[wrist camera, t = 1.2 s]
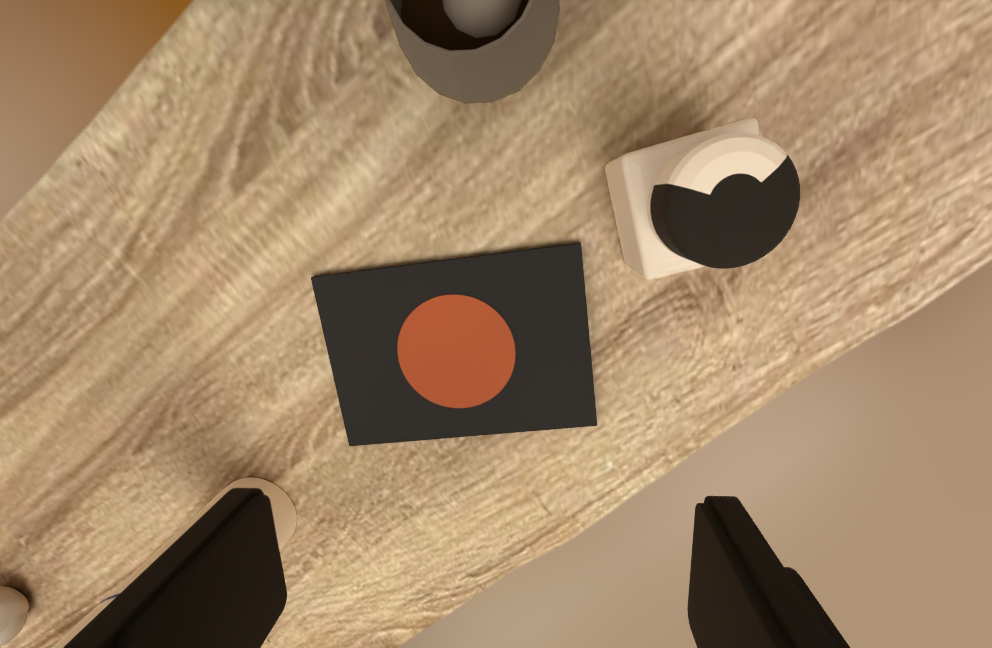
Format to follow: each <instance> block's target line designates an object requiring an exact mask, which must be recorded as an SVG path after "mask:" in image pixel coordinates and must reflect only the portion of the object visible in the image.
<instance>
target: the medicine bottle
mask: <svg viewBox="0 0 992 648" xmlns="http://www.w3.org/2000/svg"><path fill="white" fill-rule="evenodd" d="M605 173H606V178H607V182H608V187H609V192H610V197H611V201H612V206H613V211H614V215H615V220H616V225H617V229H618V234H619V239H620V243H621V248H622V253H623V257H624V262H625V264H627V265H628V266H630V267H631V268H632V269H634V270H635V271H637V272H638V273H639V274H641V275H642V276H644V277H645V278H647V279H648V280H652V279H656V278H660V277H664V276H668V275H672V274H676V273H680V272H684V271H688V270H692V269H696V268H700V267H704V266H707V267H712V268H735V267H740V266H743V265H747V264H749V263H752V262H754V261H756V260H758V259H760V258H762V257H763V256H765V255H766V254H768V253H769V252H770V251H772V250H773V249H774V248H775V247H776V246H777V245H778V244H779V243H780V242H781V241H782V239H783V238H784V237H785V236H786V234H787V233H788V231H789V230H790V228H791V226H792V224H793V222H794V220H795V217H796V214H797V211H798V207H799V201H800V184H799V178H798V175H797V171H796V169H795V167H794V164H793V162H792V161H791V159H790V158H789V156H788V155H787V154H786V153H785V152H784V150H783V149H782V148H781V147H779V146H778V145H777V144H775V143H774V142H772V141H771V140H769V139H767V138H765V137H762V136H760V134H759V127H758V122H757V120H756V119H755V118H746V119H742V120H739V121H736V122H732V123H729V124H725V125H722V126H718V127H715V128H711V129H708V130H705V131H701V132H698V133H694V134H691V135H687V136H684V137H680V138H677V139H674V140H670V141H667V142H663V143H660V144H656V145H653V146H649V147H646V148H643V149H639V150H636V151H632V152H629V153H626V154H624V155H622V156H620V157H618V158H616V159H614V160H613V161H611V162H609V163H607V164H606V165H605Z"/></svg>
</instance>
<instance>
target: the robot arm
mask: <svg viewBox="0 0 992 648" xmlns="http://www.w3.org/2000/svg"><path fill="white" fill-rule="evenodd" d="M286 600H287V590H286V584H285V579H284V573H283V568H282V562H281V557H280V551H279V546H278V540H277V535H276V529H275V524H274V518H273V513H272V507H271V502H270V498H269V497H268V496H267V495H264V493H263V491H262V490H261V489H259V488H232V489H231V490H229V491H228V492H227V493H226V494H225V495H224V496H223V497H222V498H221V499H220V500H219V501H217V502H216V503H215V504H214V505H213V506H212V507H211V508H210V509H209V510H208V511H207V512H206V513H205V514H204V515H203V516H202V517H201V518H199V519H198V520H197V521H196V522H195V523H194V524H193V525H192V526H191V527H190V528H189V529H188V530H187V531H186V532H185V533H184V534H183V535H181V536H180V537H179V538H178V539H177V540H176V541H175V542H174V543H173V544H172V545H171V546H170V547H169V548H168V549H167V550H166V551H165V552H164V553H162V554H161V555H160V556H159V557H158V558H157V559H156V560H155V561H154V562H153V563H152V564H151V565H150V566H149V567H148V568H147V569H146V570H144V571H143V572H142V573H141V574H140V575H139V576H138V577H137V578H136V579H135V580H134V581H133V582H132V583H131V584H130V585H129V586H128V587H126V588H125V589H124V590H123V591H122V592H121V593H120V594H119V595H118V596H117V597H116V598H115V599H114V600H113V601H112V602H111V603H110V604H109V605H107V606H106V607H105V608H104V609H103V610H102V611H101V612H100V613H99V614H98V615H97V616H96V617H95V618H94V619H93V620H92V621H91V622H89V623H88V624H87V625H86V626H85V627H84V628H83V629H82V630H81V631H80V632H79V633H78V634H77V635H76V636H75V637H74V638H73V639H71V640H70V641H69V642H68V643H67V644H66V645H65V646H64V648H260V647H261V645H262V644H263V642H264V641H265V639H266V637H267V636H268V634H269V633H270V631H271V629H272V628H273V626H274V624H275V623H276V621H277V620H278V618H279V616H280V615H281V613H282V611H283V609H284V607H285V604H286ZM688 618H689V624H690V628H691V631H692V633H693V636H694V639H695V642H696V645H697V648H850V647H849V645H848V644H847V643H846V641H845V640H844V638H843V637H842V635H841V634H840V633H839V631H838V630H837V628H836V627H835V625H834V624H833V622H832V621H831V619H830V618H829V617H828V615H827V614H826V612H825V611H824V609H823V608H822V607H821V605H820V604H819V602H818V601H817V599H816V598H815V597H814V595H813V594H812V592H811V591H810V589H809V588H808V586H807V585H806V583H805V582H804V581H803V579H802V578H801V577H800V575H799V574H798V573H797V572H796V571H795V570H794V569H792V568H790V567H789V568H788V567H783V565H782V564H781V562H780V561H779V559H778V558H777V556H776V555H775V553H774V552H773V550H772V549H771V547H770V546H769V544H768V543H767V541H766V540H765V538H764V537H763V535H762V534H761V532H760V531H759V529H758V528H757V526H756V525H755V523H754V522H753V520H752V519H751V517H750V516H749V514H748V513H747V511H746V510H745V508H744V507H743V505H742V504H741V502H740V501H739V499H738V498H737V497H734V496H733V497H731V496H707V497H706V498H705V500H704V503H698V504H697V505H696V508H695V519H694V533H693V545H692V558H691V571H690V584H689V597H688Z"/></svg>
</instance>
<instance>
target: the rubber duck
mask: <svg viewBox="0 0 992 648" xmlns="http://www.w3.org/2000/svg"><path fill="white" fill-rule="evenodd" d="M28 609H29V604H28V601H27V599H26V598H25V596H24V595H23V594H21V593H20V592H18V591H17V590H15V589H13V588H10V587H5V586H0V647H1V646H4V645H6V644H7V643H9V642H10V641H11V640H12V639H13V638H14V637H15V636H16V635H17V634H18V633H19V632H20V631H21V629H22V628H23V626H24V625H25V623H26V620H27V611H28Z"/></svg>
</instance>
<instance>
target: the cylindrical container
mask: <svg viewBox="0 0 992 648" xmlns="http://www.w3.org/2000/svg"><path fill="white" fill-rule="evenodd" d="M232 488H259V489H261V490H262V491H263V493H264V495H267V496H268V497H269V498H270V502H271V507H272V513H273V518H274V524H275V529H276V535H277V540H278V546H279V551H281V550H282V548H283V547H284V546H285V544H286V543H287V541H288V540H289V539H290V537H291V536H292V534H293V533H294V531H295V528H296V524H297V515H296V510H295V507H294V505H293V503H292V501H291V499H290V498H289V497H288V495H287V494H286V493H285V492H284V491H283V490H282V489H280V488H279V487H278V486H277V485H275V484H273V483H271V482H269V481H266V480H264V479H260V478H242V479H238V480H236V481H233V482H232V483H230V484H229V485H228V486H227V487H226V488H224V489H223V490H222V491H221V492H220V493H219V494H218V495H217V496H216V497H215V498H214V499H213V500H211V501H210V502H209V503H208V504H207V505H206V506H205V507H204V508H203V509H202V510H201V511H200V512H198V513H197V514H196V515H195V516H194V517H193V518H192V519H191V520H190V521H189V522H188V523H187V524H185V525H184V526H183V527H182V528H181V529H180V530H179V531H178V532H177V533H176V534H175V535H173V536H172V537H171V538H170V539H169V540H168V541H167V542H166V543H165V544H164V545H163V546H162V547H160V548H159V549H158V550H157V551H156V552H155V553H154V554H153V555H152V556H151V557H150V558H148V559H147V560H146V561H145V562H144V563H143V564H142V565H141V566H140V567H139V568H138V569H136V570H135V571H134V572H133V573H132V574H131V575H130V576H129V577H128V578H127V579H126V580H125V581H123V582H122V583H121V584H120V585H119V586H118V587H117V588H116V589H115V590H114V591H113V592H111V593H110V594H109V595H108V596H107V597H106V598H105V599H104V600H103V601H102V602H101V603H100V604H99V605H97V606H96V607H95V608H94V609H93V610H92V611H91V612H90V613H89V614H88V615H86V616H85V617H84V618H83V619H82V620H81V621H80V622H79V623H78V624H77V625H76V626H75V627H73V628H72V629H71V630H70V631H69V632H68V633H67V634H66V635H65V636H64V637H63V638H62V639H60V640H59V641H58V642H57V643H56V644H55V645H54V646H53V647H52V648H64V646H65V645H66V644H67V643H68V642H69V641H70V640H71V639H73V638H74V637H75V636H76V635H77V634H78V633H79V632H80V631H81V630H82V629H83V628H84V627H85V626H86V625H87V624H88V623H89V622H91V621H92V620H93V619H94V618H95V617H96V616H97V615H98V614H99V613H100V612H101V611H102V610H103V609H104V608H105V607H106V606H107V605H109V604H110V603H111V602H112V601H113V600H114V599H115V598H116V597H117V596H118V595H119V594H120V593H121V592H122V591H123V590H124V589H125V588H126V587H128V586H129V585H130V584H131V583H132V582H133V581H134V580H135V579H136V578H137V577H138V576H139V575H140V574H141V573H142V572H143V571H144V570H146V569H147V568H148V567H149V566H150V565H151V564H152V563H153V562H154V561H155V560H156V559H157V558H158V557H159V556H160V555H161V554H162V553H164V552H165V551H166V550H167V549H168V548H169V547H170V546H171V545H172V544H173V543H174V542H175V541H176V540H177V539H178V538H179V537H180V536H181V535H183V534H184V533H185V532H186V531H187V530H188V529H189V528H190V527H191V526H192V525H193V524H194V523H195V522H196V521H197V520H198V519H199V518H201V517H202V516H203V515H204V514H205V513H206V512H207V511H208V510H209V509H210V508H211V507H212V506H213V505H214V504H215V503H216V502H217V501H219V500H220V499H221V498H222V497H223V496H224V495H225V494H226V493H227V492H228V491H229V490H231V489H232Z"/></svg>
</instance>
